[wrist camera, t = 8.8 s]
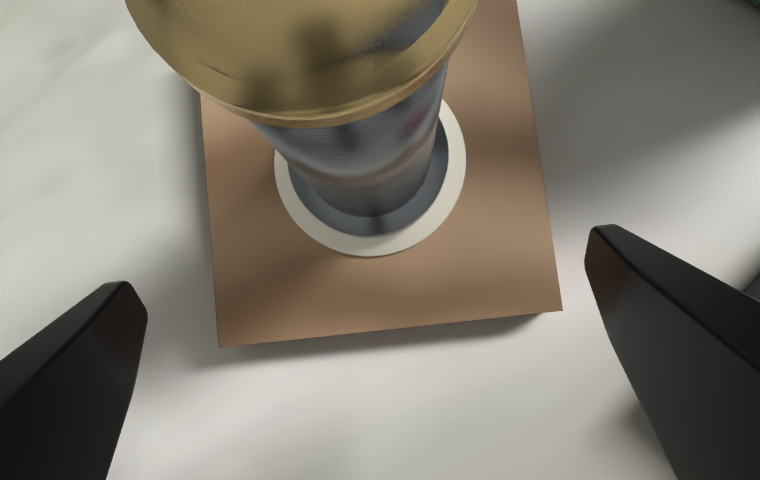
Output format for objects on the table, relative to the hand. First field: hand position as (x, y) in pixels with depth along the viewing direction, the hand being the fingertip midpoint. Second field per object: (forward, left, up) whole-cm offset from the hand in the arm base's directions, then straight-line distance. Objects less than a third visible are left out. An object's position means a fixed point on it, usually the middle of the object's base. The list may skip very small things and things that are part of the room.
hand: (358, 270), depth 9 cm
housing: (+5, +1, -10) cm, 11 cm away
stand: (+5, +1, -12) cm, 13 cm away
